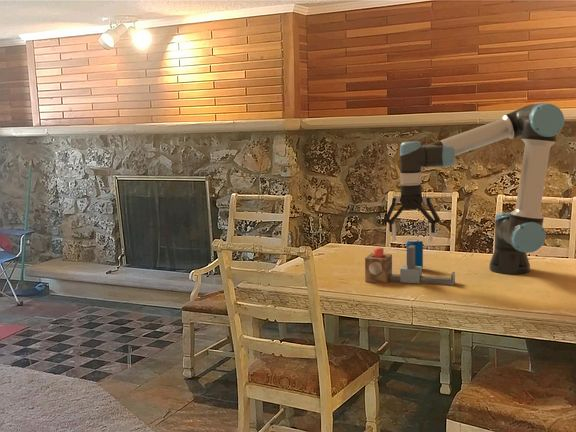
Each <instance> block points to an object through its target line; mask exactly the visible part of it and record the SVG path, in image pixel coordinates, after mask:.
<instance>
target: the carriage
mask: <svg viewBox="0 0 576 432" xmlns="http://www.w3.org/2000/svg"><path fill="white" fill-rule="evenodd" d="M399 271H400V273H399V274H400V283H407V284H408V283H411V284H421V283H420V276H423V268H422V266H415V245H410V246H409V247H408V248H407V247H406V264H404V265H402V266H401V267H400V269H399Z"/></svg>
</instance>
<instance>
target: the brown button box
mask: <svg viewBox="0 0 576 432" xmlns="http://www.w3.org/2000/svg"><path fill="white" fill-rule="evenodd" d="M383 256H384V258H378V257H374V252H371V253H370V254H369V255H367V256H366V257H365V258H364V267H365V268H364V269H365V274H364V276H365V278H364V280H365V283H379V284H380V283H381V284H387V283H388V282H389V281H388V276H389V274H393V254H392V253H383Z"/></svg>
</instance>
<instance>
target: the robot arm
mask: <svg viewBox="0 0 576 432" xmlns="http://www.w3.org/2000/svg"><path fill="white" fill-rule="evenodd" d="M564 125H565V116H564V114H563V110H561V109H560V108H559V107H558V106H557V105H555V104H553V103H546V102H540V103H536V104H535V103H533V104H527V105H525V106H522V107H520V108H518V109H516V110H514V111H512V112H509V113H506V114H504V115H502V117H501V118H500V119H498V120H494V121H492V122H488V123H487V124H484V125H480V126H478V127H475V128H472V129H469V130H467V131H463V132H460V133H458V134H455V135H451V136H449V137H446V138H444V139H441V140H439V141H436V142H433V143H427V144H424V145H422V143H421V142H420V141H404V142H403V141H402V142H401V144H400V147H399V167H400V168H399V169H400V172H399V173H400V177H399V178H400V180H399V181H400V184H401V185H400V197H396V196H394V197H393V198H392V199H391V204H390V207H389V208H388V211H387V213H386V215H385V217H384V219H383V221H384V222H385V223H388V225H389V227H388V229H389V230H388V231H389V233H391V234H392V235H391V237H392V242H395V241H397V233H396V232H397V230H396V229H397V228H396V227H397V226H396V225H397V224H396V222H395V221H396V219H397V218H398V217H399V216H400V215H401V213H402V212H403V211H404V210H405V209H406V210H418V211H419V212H420V213H421V214H422V215H423V216H424V217H425V218H426V219H427V221H428V222H429V224H428V241H429V242H428V243H433V234H435V232H436V224H437V223H439V222H441V219H440V216H439V215H438V213H437V211H436V209H435V207H434V205H433V204H432V203H433V202H432V198H431V196H428V197H423V194H422V192H423V191H422V190H423V189H422V188H423V187H422V184H421V183H422V168H432V167H433V168H434V167H436V168H437V167H443V168H444V167H445V168H446V167H451V166H453V165H454V164H455V160H456V156H459V155H462V154H464V153H467V152H470V151H473V150H476V149H479V148H481V147H485V146H487V145H490V144H493V143H497V142H500V141H502V140H505V139H507V138H508V139H510V140H513V139H515V138H520V137H521V141H522V142H523V143H524V151H523V156H522V157H523V158H522V163H521V169H520V170H521V171H520V176H519V177H520V178H519V184H518V190H517V197H516V205H515V209H514V210H512V211H511V212H497V213H496V214H495V217H494V248H493V249H494V250H493V253H492V256H491V259H490V261H489V270H490V271H491V272H495V273H497V274H505V275H521V274H528V273H529V272H531V264H530V261H529V258H528V254H529V253H534V252H536V251H538V250H540V249H541V248H542V247H543V246H544V243H545V242H546V240H547V239H546V238H547V237H546V236H547V233H546V231H545V228H544V227H543V224H544V218H545V217H544V215H542V213H541V208H542V203H543V201H542V200H543V195H544V191H545V190H544V188H545V183H546V177H547V170H548V164H549V157H550V150H551V147H552V146H553V145H555V144H556V141H557V136H558V134H559V133H560V132H561V130H562V129H563V128H564ZM399 202H400V204H401V206H400V207H399V209H398V210H397V211H396V213H395V214H394V215H393V212H394V209H395V208H396V205H397V204H398V203H399ZM423 202H424V203H425V204H426V205H427V207H428V209H429V211H430V213H431V214H432V215H430V213H429V212H428V211H427V210H426V209H425V208H424V206H423V205H422V203H423ZM392 215H393V216H392ZM391 216H392V217H391ZM527 253H528V254H527Z"/></svg>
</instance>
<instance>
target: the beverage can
mask: <svg viewBox="0 0 576 432" xmlns="http://www.w3.org/2000/svg"><path fill="white" fill-rule="evenodd" d="M423 243H424V242H423V240H422V239H419V238H409V239H407V242H406V249H407V248H408V247H409V246H410V245H415V266H422V269H423V268H424V244H423Z"/></svg>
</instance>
